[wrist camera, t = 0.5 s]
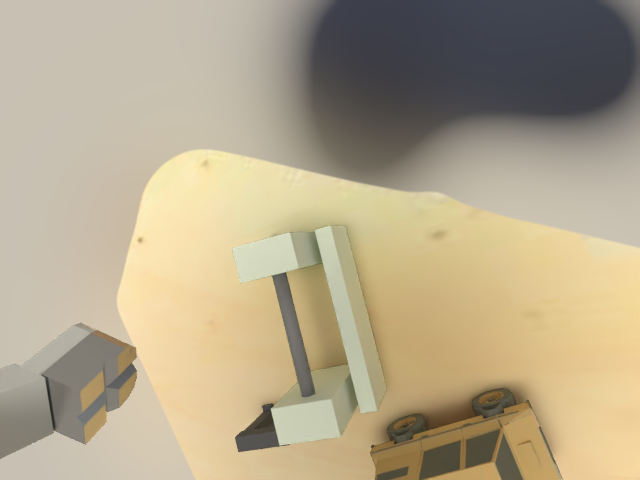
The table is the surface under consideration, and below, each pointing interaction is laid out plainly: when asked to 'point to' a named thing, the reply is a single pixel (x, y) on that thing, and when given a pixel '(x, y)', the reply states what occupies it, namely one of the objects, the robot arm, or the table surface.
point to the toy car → (469, 445)
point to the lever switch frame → (313, 386)
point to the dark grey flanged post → (259, 433)
